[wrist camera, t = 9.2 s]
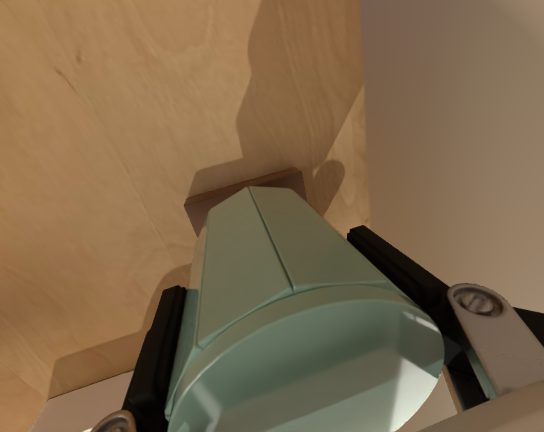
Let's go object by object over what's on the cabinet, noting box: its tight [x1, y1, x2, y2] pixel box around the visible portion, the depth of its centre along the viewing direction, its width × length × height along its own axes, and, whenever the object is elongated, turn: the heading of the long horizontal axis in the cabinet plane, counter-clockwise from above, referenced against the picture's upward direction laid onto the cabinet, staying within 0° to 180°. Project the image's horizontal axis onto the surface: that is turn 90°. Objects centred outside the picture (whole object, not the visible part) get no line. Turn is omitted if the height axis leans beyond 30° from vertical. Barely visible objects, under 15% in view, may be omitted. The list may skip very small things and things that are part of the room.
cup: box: [164, 186, 445, 432], centre depth 9 cm, size 7×7×8 cm
